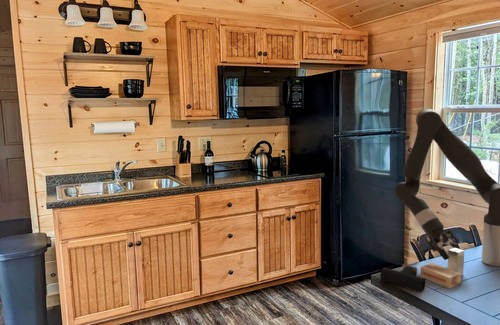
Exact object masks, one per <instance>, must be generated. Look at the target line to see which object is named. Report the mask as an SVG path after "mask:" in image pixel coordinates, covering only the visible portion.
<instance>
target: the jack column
mask: <svg viewBox="0 0 500 325" xmlns="http://www.w3.org/2000/svg"><path fill="white" fill-rule="evenodd" d="M447 251H448V252H447V254H448V256H449V258H448V259H447V268H448V269H450V270H453V271H456V272H459V273H461V277H462V276H464V266H465V264H464V262H465V250H463V249H461V248H460V249H458V248H453V247H451V248H449V249H447Z"/></svg>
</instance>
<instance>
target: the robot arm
mask: <svg viewBox="0 0 500 325" xmlns="http://www.w3.org/2000/svg"><path fill="white" fill-rule="evenodd" d="M415 118H416V119H415V122H416V123H415V124H416V126H417V130H416V137H415V140H414V143H413V145H412V148H411V150H410V152H409V154H408V156H407V159H406V161H405V164H404V167H403V171H402V174H403V176H404V177H405V181H403V182H398V183H396V185H394V194H395V196H396V197H397V199H398V200H399V202H401V203H402V204H403V205H405V206H406V208H408V209H409V210H410V213H411V214H412V216H414V218H415V220H416V222H417V223H418V224H419V226H420V227H421V229H422V230H423V232H424V233H425V235H426V236H427V237H425V240H426V243H427V244H428V245H429V247H430V249H431V250H432V252H437V253H439V255H440V256H441V257H442V259H443V260H444V261H448V258H449V256H448V252H447V251H446V250H445V249H444V247H443V245H447V246H449V247H451V248H458V249H461V248H460V246H458V244H459V243H460V240H459V239H458V238H457V237H456V235H455V234H454V232H452V230H451V229H448V230H447V231H445V230H444V228H445V226H444V224H443V223H442V222H441V220H440V219H439V217H438V216H437V215H436V214H435V212H434V211H433V210H432V209H431V208H430V206H429V205H428V203H427V202H426V201H425V200H424V199H423V198H420V197H417V196H416V195H417V194H418V193H419V190H420V183H421V175H422V172H423V168H424V166H425V163H426V162H425V161H426V159H427V155H428V152H429V150H430V147H431V146H432V142H433V141H434V142H435V143H436V144H437V147H438V148H439V149H440V151H441V152H442V154H443V155H444V156H445V158H446V159H447V160H448V162H450V163H451V165H452V166H453V167H454V168H455V169H456V170H457V171H458V172H459V173H460V174H461V175H462V177H464V178H465V180H467V181H468V182H470V183H471V185H472V186H473V187H474V188H475V190H476V191H477V193H478V194H479V195H480V197H481V198H482V199H483V201H484V202H486V203H487V204H488V210H487V213H486V214H484V215H483V229H482V230H483V231H482V248H481V249H482V252H481V261H482V263H484V264H486V265H489V266H493V267H500V183H499V182H497V181H496V180H495V179H494V178H492V177H491V176H490V175H489V174H488V172H487V171H486V169H485V168H484V165H483V164H482V162H481V160H480V158H479V157H478V155H477V154H476V152H474V151H473V150H472V149H471V147H469V146H468V145H467V144H466V142H464V141H463V140H462V139H461V138H460V137H459V136H457V135H456V134H455V133H454V132H452V130H451V129H450V128H449V127H448V126H447V125H446V123H445V121H443V119H442V117H441V115H440V114H439V112H437V111H436V110H434V109H433V108H425V109H422V110H420V111H419V112H418V113H417V115H416V117H415Z"/></svg>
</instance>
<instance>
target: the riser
mask: <svg viewBox="0 0 500 325" xmlns="http://www.w3.org/2000/svg"><path fill="white" fill-rule="evenodd" d="M420 277H421V278H425V280H428V281H431V282H433V283H436V284H438V285H440V286H443V287H445V288H447V289H451V288H454V287H456V286H458V285H461V284H462V276H461V273H459V272H456V271H453V270H450V269H448V267H444V266H442V265H438V264H436V263H434V262H431V263H428V264H425V265H422V266H420Z"/></svg>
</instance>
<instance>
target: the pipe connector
mask: <svg viewBox="0 0 500 325" xmlns="http://www.w3.org/2000/svg"><path fill="white" fill-rule="evenodd" d="M417 271H418V267H415V266H412V265H408V264H406V265H405V266H403V268H402V269H401V270H400V271H398V270H395V269H393V268H392V269H391V268H388V267H382V268H381V271H380V276H379V278H380V280H381V281H382V282H387V283H390V284H393V285H396V286H400V287H402V288H403V287H404V288H407V289H410V290H414V291H417V292H420V293H423V291H425V289H426V284H427V283H426V279H425V278H423V277H421V276H418V272H417Z"/></svg>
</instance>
